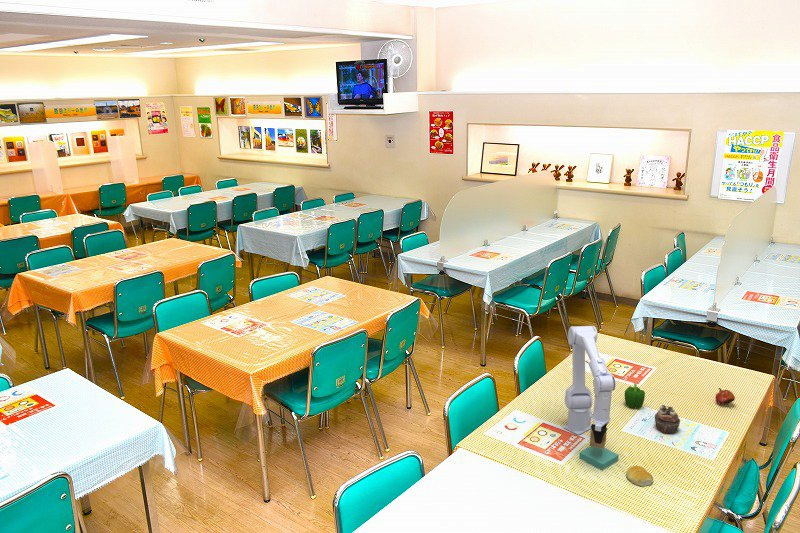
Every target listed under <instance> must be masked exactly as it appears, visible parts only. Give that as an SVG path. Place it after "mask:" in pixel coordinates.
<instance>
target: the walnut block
mask: <svg viewBox="0 0 800 533" xmlns="http://www.w3.org/2000/svg"><path fill="white" fill-rule="evenodd" d="M607 432H608V430H607V431H606V432H605V434H604V436H603V439H602V442H601V444H598V443H595V440H594V434H593V431H592V429H590V434H589V436H590V437H589V447H590V446H592V447H597V448H602V449H604V448H606V442H607Z"/></svg>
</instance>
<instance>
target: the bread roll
mask: <svg viewBox="0 0 800 533" xmlns="http://www.w3.org/2000/svg"><path fill="white" fill-rule="evenodd" d="M626 478H627V480H629V481H630V482H631V483H632V484H633V485H636V486H639V487H646V486H647V487H648V486H651V485H652V483H653V481H654V477H653V475H652V474H651V473H650V472H648V470H646V469H645V468H644V467H643V466H640V465H633V466H630V467H629V468H627V471H626Z"/></svg>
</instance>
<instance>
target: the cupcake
mask: <svg viewBox="0 0 800 533" xmlns="http://www.w3.org/2000/svg"><path fill="white" fill-rule="evenodd" d="M654 421H655V429H656V430H657V431H658V432H659V433H662V434H665V435H675V434H676V433H677V431H678V428H679V426H680V423H681V419H680V417H679V415H678V412H676V411H675V409H674V407H672V406H668V407H667V406H666V405H665V404H662V405H660V406H659V409H657V411H656V413H655V414H654Z"/></svg>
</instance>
